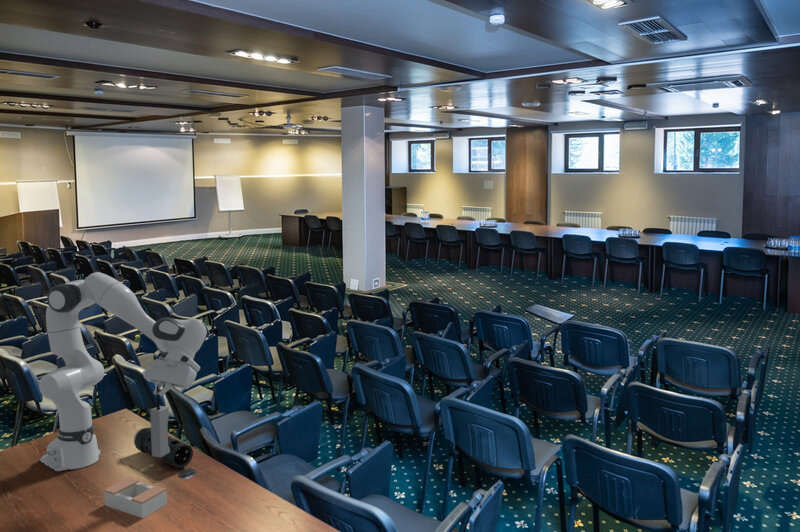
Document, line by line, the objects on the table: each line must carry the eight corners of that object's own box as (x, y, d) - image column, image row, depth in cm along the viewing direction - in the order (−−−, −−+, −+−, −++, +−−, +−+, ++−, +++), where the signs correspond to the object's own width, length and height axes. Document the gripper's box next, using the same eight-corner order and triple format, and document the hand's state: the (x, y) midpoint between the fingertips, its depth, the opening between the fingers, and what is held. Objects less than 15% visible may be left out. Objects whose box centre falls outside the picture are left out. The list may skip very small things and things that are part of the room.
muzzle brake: (172, 474, 230) (171, 448, 229) (132, 454, 247) (131, 430, 246) (194, 465, 238) (193, 440, 236) (154, 447, 255) (153, 423, 253)
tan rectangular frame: (105, 505, 208) (104, 489, 207) (129, 492, 217) (128, 477, 216) (143, 518, 200) (142, 502, 199) (167, 504, 209) (166, 488, 208)
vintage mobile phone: (170, 452, 219) (168, 384, 216) (160, 458, 214) (158, 388, 211) (161, 450, 220) (159, 383, 217) (151, 456, 215) (149, 387, 212)
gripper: (152, 352, 223) (131, 386, 216) (194, 359, 214) (173, 395, 207) (162, 361, 228) (142, 394, 221) (204, 368, 219) (184, 403, 212)
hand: (157, 394), depth 214 cm, fingers closed on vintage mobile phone
